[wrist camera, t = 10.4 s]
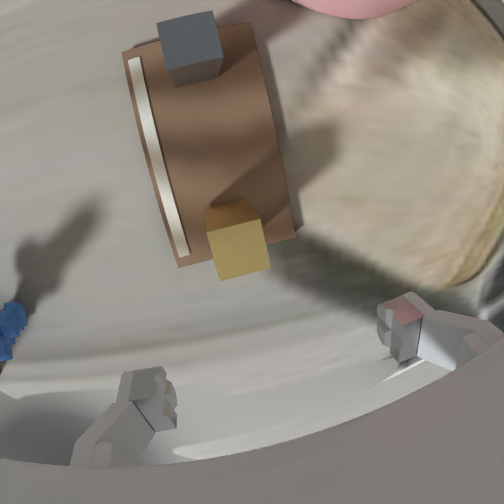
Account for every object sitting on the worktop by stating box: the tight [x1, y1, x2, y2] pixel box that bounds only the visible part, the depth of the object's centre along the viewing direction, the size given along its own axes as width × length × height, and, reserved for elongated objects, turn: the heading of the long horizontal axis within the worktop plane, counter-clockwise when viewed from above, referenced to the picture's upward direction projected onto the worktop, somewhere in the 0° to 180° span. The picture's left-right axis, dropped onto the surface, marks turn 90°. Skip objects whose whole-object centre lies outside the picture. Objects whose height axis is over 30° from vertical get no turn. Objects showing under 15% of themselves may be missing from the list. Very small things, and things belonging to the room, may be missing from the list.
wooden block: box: [205, 198, 271, 281], centre depth 23 cm, size 4×4×7 cm
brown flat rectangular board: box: [122, 22, 296, 268], centre depth 24 cm, size 20×11×1 cm, turn 12°
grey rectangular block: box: [157, 10, 224, 88], centre depth 18 cm, size 4×4×7 cm
